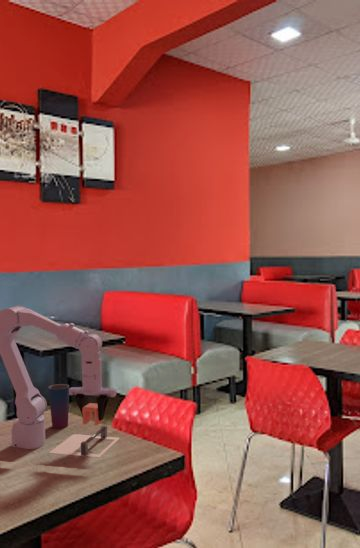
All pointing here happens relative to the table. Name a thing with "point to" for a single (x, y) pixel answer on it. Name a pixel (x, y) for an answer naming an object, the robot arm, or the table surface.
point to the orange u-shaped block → (90, 413)
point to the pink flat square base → (82, 444)
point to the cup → (59, 405)
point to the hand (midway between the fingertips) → (93, 419)
